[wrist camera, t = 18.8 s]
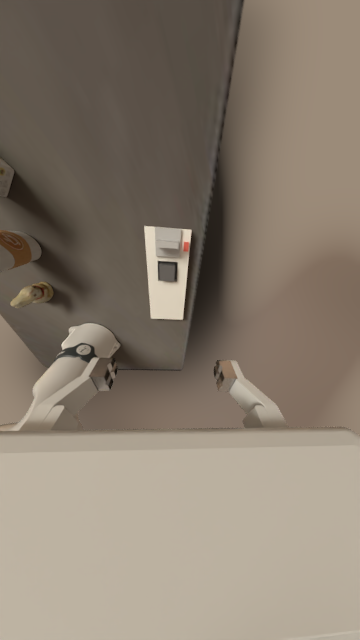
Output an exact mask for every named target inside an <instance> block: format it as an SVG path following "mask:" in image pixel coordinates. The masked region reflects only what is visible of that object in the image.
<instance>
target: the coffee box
mask: <svg viewBox="0 0 360 640" xmlns="http://www.w3.org/2000/svg"><path fill="white" fill-rule="evenodd" d="M13 175H14V170H13V169H12V168H11V167H10V166H9V165H8V164H7V163H6V162H5V161H4V160H3V159H2V158H1V157H0V196H3V197H7V195H8V192H9V189H10V185H11V182H12V179H13Z"/></svg>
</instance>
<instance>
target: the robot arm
mask: <svg viewBox="0 0 360 640" xmlns="http://www.w3.org/2000/svg"><path fill="white" fill-rule="evenodd" d="M119 347H120V343H119V342H118V341H117V340H116V339H115V336H114V335H113V333H112V332H111V331H110V330H108V329H107V328H105V327H103V326H101V325H98V324H93V323H86V324H82V325H80V326H74V327H70V329H69V336H68V337H67V339H66V340H65V341H64V342H63V343H62V349H63V350H62V351H61V353H59V354H58V355H57V357H56V359H55V360H54V363H53V364H52V365H51V367H50V368H49V369H48V370H47V371H46V372H45V373H44V375H43V376H42V377H41V378H40V379H39V380H38V381H37V382H36V384H35V385H34V387H33V395H34V400H33V403H32V405H31V407H30V409H29V410H28V412H27V414H26V415H25V416H24V417H23V419H22V420H21V421H19V422H18V423H10V424H4V425H0V640H360V435H358V434H357V433H355V432H354V431H352V430H351V429H348V428H345V427H289V426H288V425H287V423H286V421H285V419H284V418H283V416H282V414H281V412H280V411H279V409H278V407H277V405H276V404H275V403H273V402H272V401H271V400H270V399H269V398H268V397H267V396H265V395H264V394H263V393H262V392H261V391H260V390H258V388H256V387H255V386H254V385H253V384H252V383H251V382H250V381H248V380H247V379H245V378H244V376H243V374H242V372H241V370H240V368H239V365H238V363H237V361H235V360H217V361H216V366H215V367H214V376H215V379H216V380H217V383H216V384H217V388H218V391H224V392H229V393H230V394H231V395H232V397H233V398H234V399H235V400H236V402H237V403H238V404H239V405H240V407H241V408H242V409H243V410H244V411H245V413H246V414H247V416H246V417H245V418H244V419H243V424H244V427H245V428H203V429H202V428H199V429H124V430H123V429H116V430H83V426H82V424H81V423H80V421H79V418H78V411H79V410H80V409H81V408H82V407H83V406H84V405H85V404H86V403H87V402H88V401H89V400H90V399H91V398H92V397H93V396H94V395H95V394H96V393H97V392H98V391H110V389H111V387H112V385H113V378H115V377H116V374H117V371H118V366H117V364H116V363H115V362H116V360H115V358H110V357H111V356H112V355H113V354H114V353H115V352H116V350H117V349H118V348H119Z"/></svg>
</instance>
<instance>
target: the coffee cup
mask: <svg viewBox="0 0 360 640" xmlns="http://www.w3.org/2000/svg"><path fill="white" fill-rule="evenodd" d="M41 253H42V251H41V248H40V246H39V244H38V243H37V242H36V240H35V239H33V238H32V237H31V236H29V235H27V234H25V233H23V232H18V231H4V230H0V272H3V271H5V270H9V269H12V268H15V267H18V266H21V265H24V264H27V263H29V262H31V261H34V260H37V259H39V258H40V256H41Z"/></svg>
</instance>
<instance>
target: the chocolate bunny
mask: <svg viewBox="0 0 360 640" xmlns="http://www.w3.org/2000/svg"><path fill="white" fill-rule="evenodd" d="M52 296H53V289H52V287H51V285H50V284H48V283H46V282H40V283H37V284H33V285H31V286H27V287H25V288H23V289H22V290H21V291H20V293H19V295H18V296H17V297H16V298H14V299H13V300H12V301H11V306H14V307H16V308H21V307H24V306H26V305H28V304H30V303H32V302H34V303H44V302H46V301H48V300H50V299H51V298H52Z"/></svg>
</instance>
